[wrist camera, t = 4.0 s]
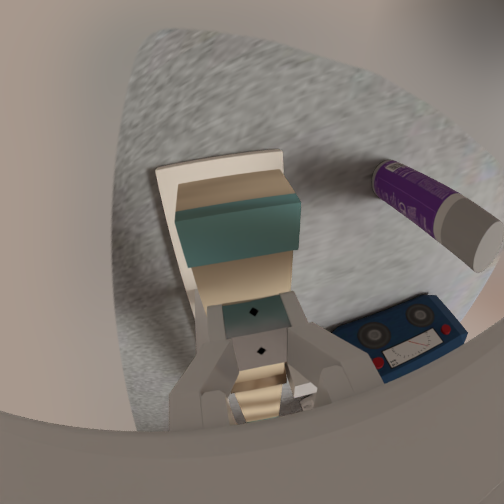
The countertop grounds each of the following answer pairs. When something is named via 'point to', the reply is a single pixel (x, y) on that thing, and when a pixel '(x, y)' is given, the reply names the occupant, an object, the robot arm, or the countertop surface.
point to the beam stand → (168, 190)
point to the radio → (405, 336)
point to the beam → (242, 257)
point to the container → (441, 213)
